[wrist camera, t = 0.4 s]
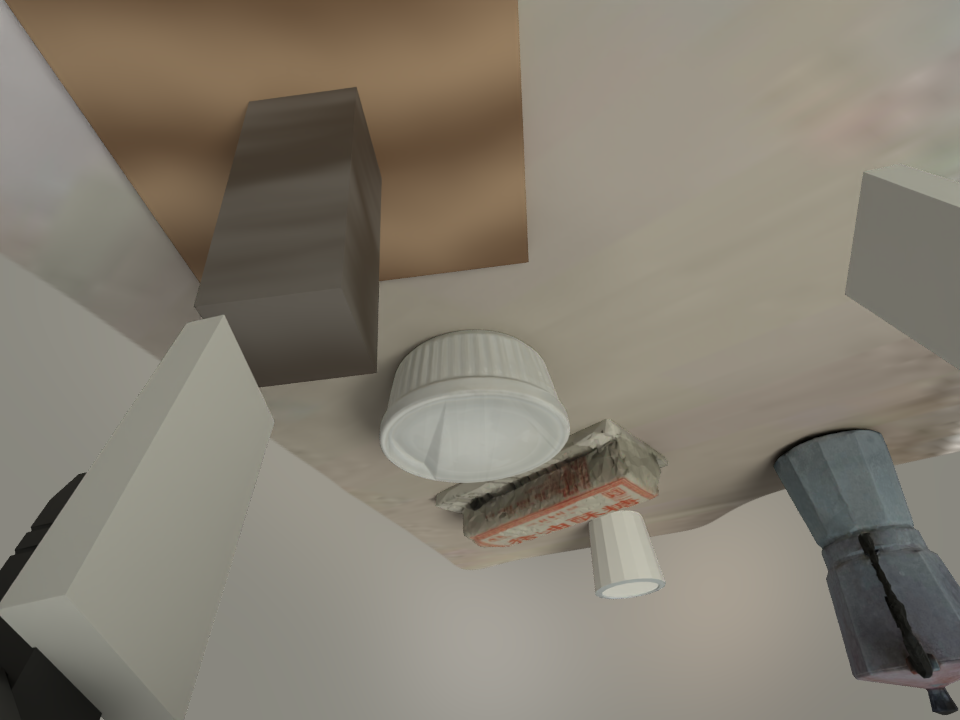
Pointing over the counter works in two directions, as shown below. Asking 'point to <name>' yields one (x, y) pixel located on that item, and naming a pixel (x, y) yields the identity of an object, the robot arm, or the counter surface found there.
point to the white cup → (623, 556)
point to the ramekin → (472, 409)
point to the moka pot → (877, 564)
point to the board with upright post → (305, 151)
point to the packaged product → (559, 488)
